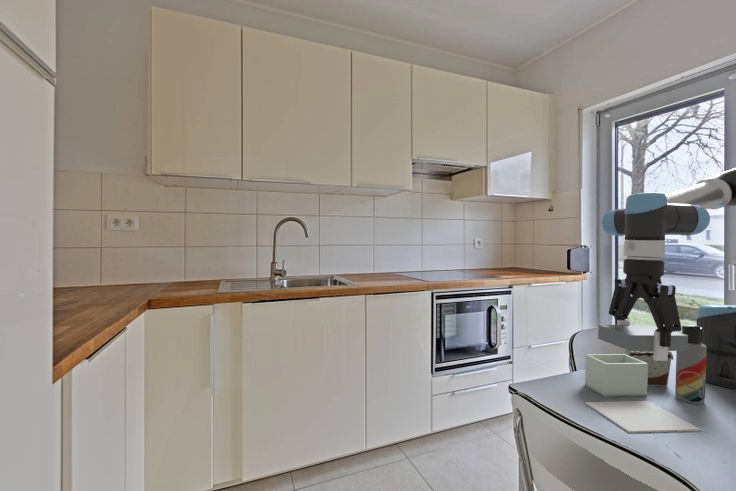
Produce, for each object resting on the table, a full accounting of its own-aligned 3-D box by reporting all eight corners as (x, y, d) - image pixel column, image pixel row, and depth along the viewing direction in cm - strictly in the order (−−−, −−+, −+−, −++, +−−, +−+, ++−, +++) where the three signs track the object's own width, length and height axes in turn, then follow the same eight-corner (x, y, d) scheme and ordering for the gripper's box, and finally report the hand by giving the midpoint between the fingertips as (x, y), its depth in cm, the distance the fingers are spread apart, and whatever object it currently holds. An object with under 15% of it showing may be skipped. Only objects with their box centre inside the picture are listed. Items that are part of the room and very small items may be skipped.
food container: (656, 378, 104) (657, 345, 103) (672, 386, 98) (673, 352, 97) (614, 375, 105) (615, 344, 105) (627, 384, 99) (628, 350, 99)
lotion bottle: (694, 406, 86) (697, 328, 86) (669, 396, 91) (672, 323, 91) (710, 403, 87) (712, 327, 87) (684, 393, 93) (686, 321, 93)
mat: (647, 402, 87) (647, 401, 87) (700, 430, 74) (700, 429, 74) (585, 403, 86) (585, 402, 86) (628, 432, 73) (628, 431, 73)
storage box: (623, 384, 98) (624, 354, 98) (647, 396, 91) (648, 363, 91) (584, 385, 97) (585, 354, 97) (605, 397, 90) (606, 364, 90)
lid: (649, 338, 85) (649, 324, 85) (687, 350, 76) (687, 335, 76) (598, 338, 84) (598, 324, 84) (630, 351, 75) (630, 335, 75)
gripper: (593, 256, 90) (591, 338, 91) (674, 261, 68) (670, 370, 69) (620, 256, 91) (617, 338, 91) (708, 261, 69) (704, 370, 69)
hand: (640, 352), depth 80 cm, fingers closed on lid, 9 cm apart
